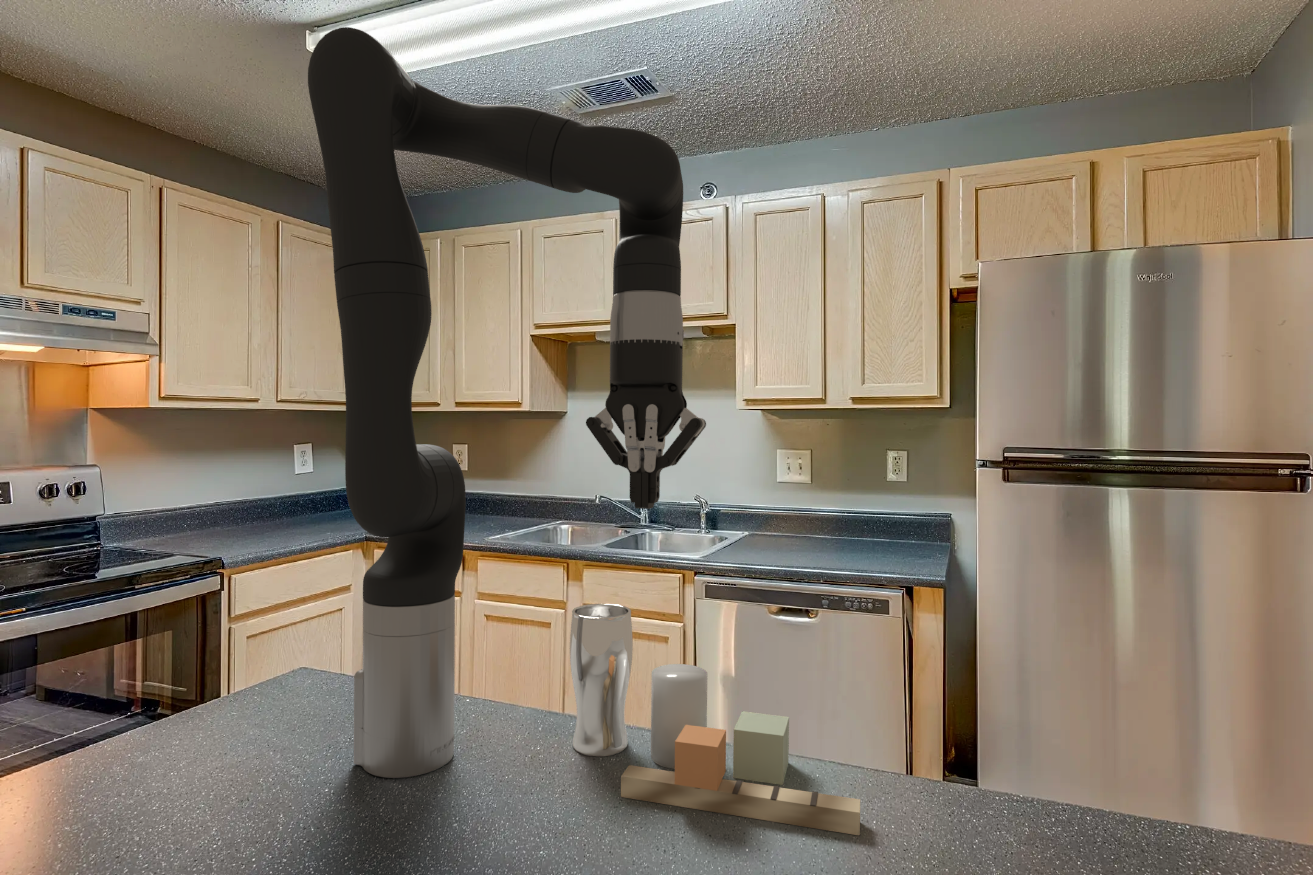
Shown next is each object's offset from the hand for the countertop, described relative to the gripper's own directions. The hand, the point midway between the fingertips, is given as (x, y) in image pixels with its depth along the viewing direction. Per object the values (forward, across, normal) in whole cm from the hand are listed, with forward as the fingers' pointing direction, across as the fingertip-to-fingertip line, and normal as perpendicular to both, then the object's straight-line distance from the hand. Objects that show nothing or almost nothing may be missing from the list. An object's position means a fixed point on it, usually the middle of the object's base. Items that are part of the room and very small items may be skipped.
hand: (644, 507), depth 77 cm
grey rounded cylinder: (+27, +3, +4) cm, 27 cm away
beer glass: (+27, -6, +4) cm, 28 cm away
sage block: (+27, +12, +3) cm, 30 cm away
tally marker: (+25, +8, -6) cm, 26 cm away
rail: (+27, +11, -6) cm, 30 cm away
